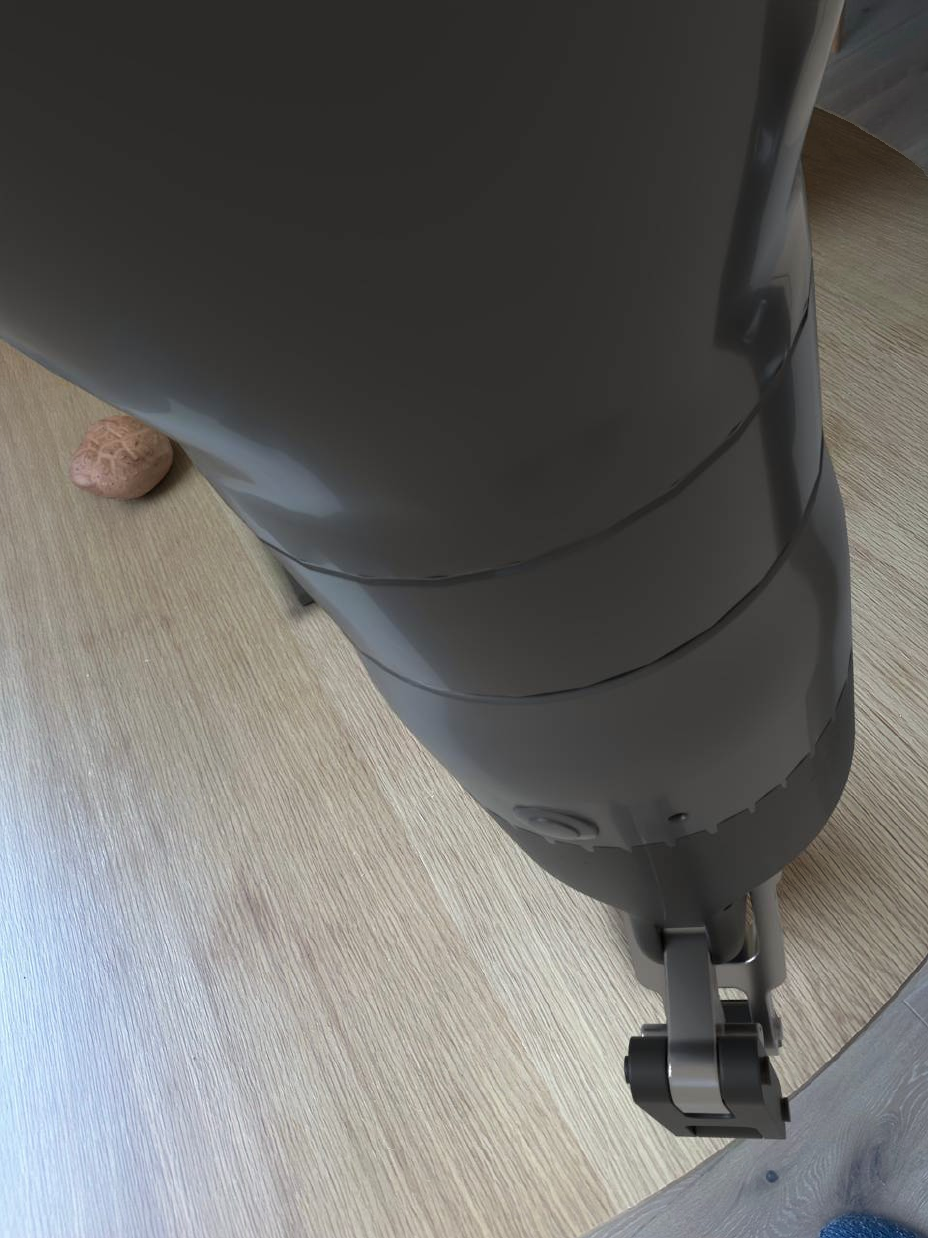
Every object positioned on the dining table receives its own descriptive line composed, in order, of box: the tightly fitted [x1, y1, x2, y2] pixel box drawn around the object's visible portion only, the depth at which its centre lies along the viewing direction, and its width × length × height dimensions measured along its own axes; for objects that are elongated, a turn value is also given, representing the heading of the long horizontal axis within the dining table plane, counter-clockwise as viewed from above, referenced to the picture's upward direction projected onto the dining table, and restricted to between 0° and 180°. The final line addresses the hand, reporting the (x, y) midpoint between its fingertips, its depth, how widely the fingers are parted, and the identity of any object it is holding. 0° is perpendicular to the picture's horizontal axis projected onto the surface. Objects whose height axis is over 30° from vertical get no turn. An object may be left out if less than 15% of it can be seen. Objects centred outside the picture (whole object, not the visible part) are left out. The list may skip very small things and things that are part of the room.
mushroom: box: [67, 414, 174, 501], centre depth 78 cm, size 8×6×8 cm
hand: (727, 883), depth 30 cm, fingers open, 8 cm apart
